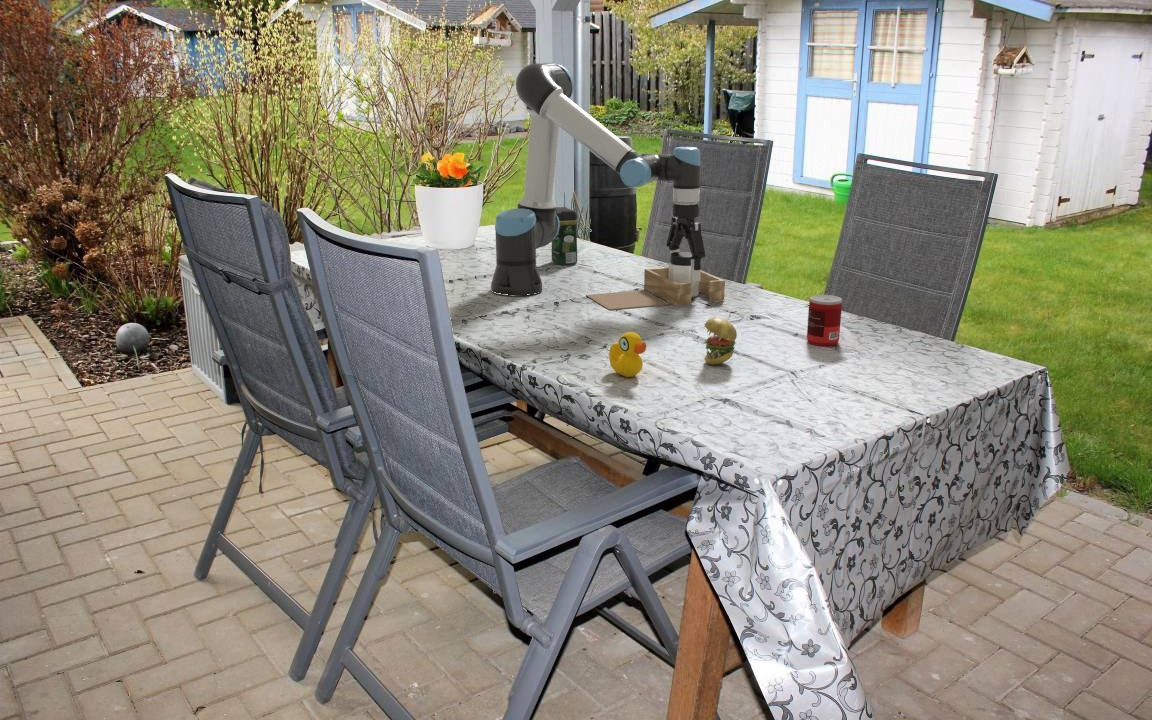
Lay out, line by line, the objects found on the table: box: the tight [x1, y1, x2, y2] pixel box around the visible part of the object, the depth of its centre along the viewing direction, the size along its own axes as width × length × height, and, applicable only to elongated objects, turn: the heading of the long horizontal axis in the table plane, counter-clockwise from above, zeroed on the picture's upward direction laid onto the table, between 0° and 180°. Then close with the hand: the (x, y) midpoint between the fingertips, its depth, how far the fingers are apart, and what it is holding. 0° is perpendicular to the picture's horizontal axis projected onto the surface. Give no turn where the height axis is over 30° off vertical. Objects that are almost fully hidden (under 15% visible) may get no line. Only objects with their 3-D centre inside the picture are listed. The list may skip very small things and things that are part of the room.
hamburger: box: [703, 312, 738, 366], centre depth 224 cm, size 8×7×12 cm
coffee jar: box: [551, 206, 578, 266], centre depth 332 cm, size 10×8×19 cm
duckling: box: [608, 331, 647, 378], centre depth 216 cm, size 11×5×10 cm, turn 35°
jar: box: [668, 251, 700, 298], centre depth 289 cm, size 9×8×12 cm
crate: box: [643, 266, 726, 307], centre depth 289 cm, size 15×22×6 cm
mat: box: [585, 289, 670, 311], centre depth 284 cm, size 18×18×1 cm
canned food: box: [806, 294, 843, 347], centre depth 241 cm, size 8×8×11 cm
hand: (684, 276), depth 289 cm, fingers open, 13 cm apart
